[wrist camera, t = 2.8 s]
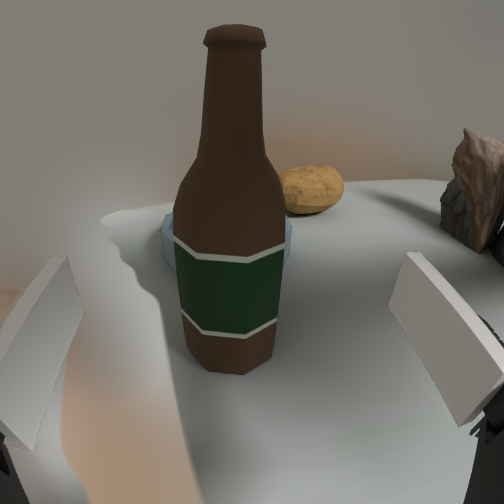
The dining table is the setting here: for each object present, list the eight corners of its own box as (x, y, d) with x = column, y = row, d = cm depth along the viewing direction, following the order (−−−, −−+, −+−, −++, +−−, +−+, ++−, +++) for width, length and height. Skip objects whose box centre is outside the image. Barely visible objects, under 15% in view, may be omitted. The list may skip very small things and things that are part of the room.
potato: (256, 208, 54) (258, 164, 50) (315, 197, 60) (319, 158, 56) (291, 230, 47) (296, 179, 43) (351, 215, 53) (358, 172, 49)
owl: (431, 223, 53) (451, 123, 43) (464, 220, 56) (483, 133, 47) (477, 254, 43) (507, 142, 33) (505, 246, 46) (531, 152, 36)
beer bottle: (181, 321, 28) (165, 39, 16) (259, 309, 30) (274, 42, 19) (195, 386, 22) (173, 10, 10) (289, 366, 24) (329, 26, 12)
